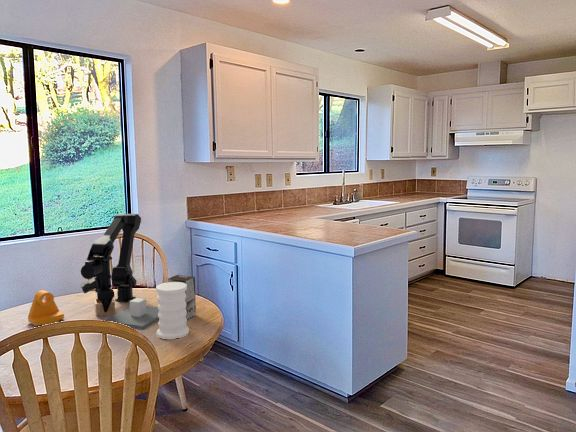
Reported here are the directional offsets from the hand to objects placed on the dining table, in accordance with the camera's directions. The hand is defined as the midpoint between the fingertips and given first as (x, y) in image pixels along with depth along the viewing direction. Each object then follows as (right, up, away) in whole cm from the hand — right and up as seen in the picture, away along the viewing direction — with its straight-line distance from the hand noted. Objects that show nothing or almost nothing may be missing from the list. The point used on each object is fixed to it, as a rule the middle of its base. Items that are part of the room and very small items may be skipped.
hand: (104, 309), depth 185 cm
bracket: (-18, -3, -11) cm, 21 cm away
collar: (0, -1, 0) cm, 1 cm away
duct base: (+16, -2, -6) cm, 17 cm away
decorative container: (+34, -5, -22) cm, 41 cm away
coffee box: (+33, -2, -4) cm, 34 cm away
